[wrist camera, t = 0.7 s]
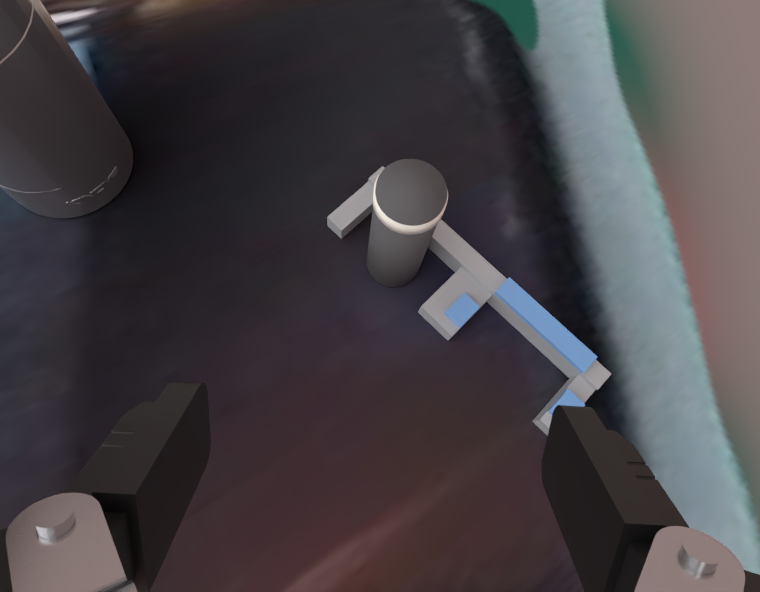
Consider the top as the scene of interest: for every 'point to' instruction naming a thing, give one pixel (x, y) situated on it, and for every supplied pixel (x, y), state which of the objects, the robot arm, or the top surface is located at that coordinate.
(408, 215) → the grey cylinder post
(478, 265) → the grey blue frame
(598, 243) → the top surface
